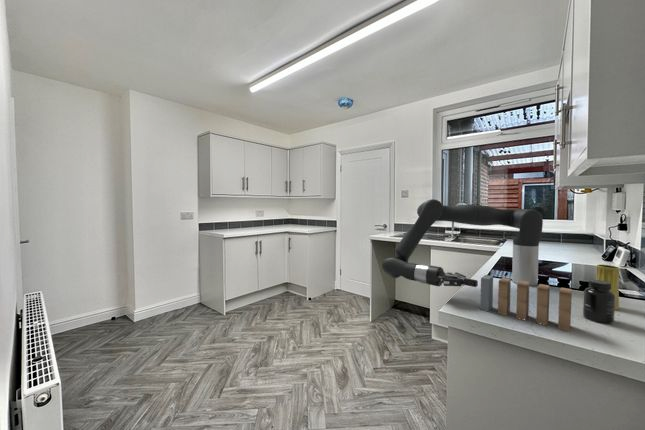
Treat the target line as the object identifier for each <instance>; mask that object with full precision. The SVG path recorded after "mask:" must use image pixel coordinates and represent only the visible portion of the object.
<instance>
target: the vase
mask: <svg viewBox="0 0 645 430" xmlns="http://www.w3.org/2000/svg"><path fill="white" fill-rule="evenodd" d="M595 280H602V281H606V282H610V283H611V288H612V289H611V290H610V291H611V292H613V293H614V294H615V296H616V299H615V311H617V310H619V309H620V304H619V303H620V297H619V296H620V295H619V291H620V290H619V288H620V285H619V283H620V282H619V280H620V267H619V266H615V265H610V264H597V265H596V278H595Z"/></svg>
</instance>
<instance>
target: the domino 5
mask: <svg viewBox="0 0 645 430" xmlns="http://www.w3.org/2000/svg"><path fill="white" fill-rule="evenodd" d="M572 291H573V290H572V288H568V287H567V288H566V287H560V289H559V293H558V294H559V296H558V297H559V298H558V318H557V319H558V320H557V323H558V326H557V329H558V328H560V329H559V330H561V329H564V330H563V331H565V330H570V331H571V325H572V321H571V319H572V297H573V295H572V293H573V292H572Z"/></svg>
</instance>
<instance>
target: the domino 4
mask: <svg viewBox="0 0 645 430" xmlns="http://www.w3.org/2000/svg"><path fill="white" fill-rule="evenodd" d="M550 287H551V286H550V285H548V284H542V283H539V285H537V290H536V318H535V319H536V321H535V323H536V322H537V323H541V324H544V325H543V326H545V325H547V326H548V323H549V321H548V320H549V319H550V317H549V316H550V290H551V289H550ZM537 323H536V324H537ZM541 324H540V325H541Z"/></svg>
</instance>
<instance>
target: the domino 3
mask: <svg viewBox="0 0 645 430" xmlns="http://www.w3.org/2000/svg"><path fill="white" fill-rule="evenodd" d="M529 304H530V285H529V282H525V281H520V282H519V283H518V284H517V283H516V310H515V311H516V312H515V313H516V315H515V316H516V317H515V318H516V319H517V318H520V319H519V320H521V319H525V320H526V321H527V319H528V317H529V311H530V310H529V308H530V307H529ZM526 318H527V319H526ZM525 320H524V321H525Z"/></svg>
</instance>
